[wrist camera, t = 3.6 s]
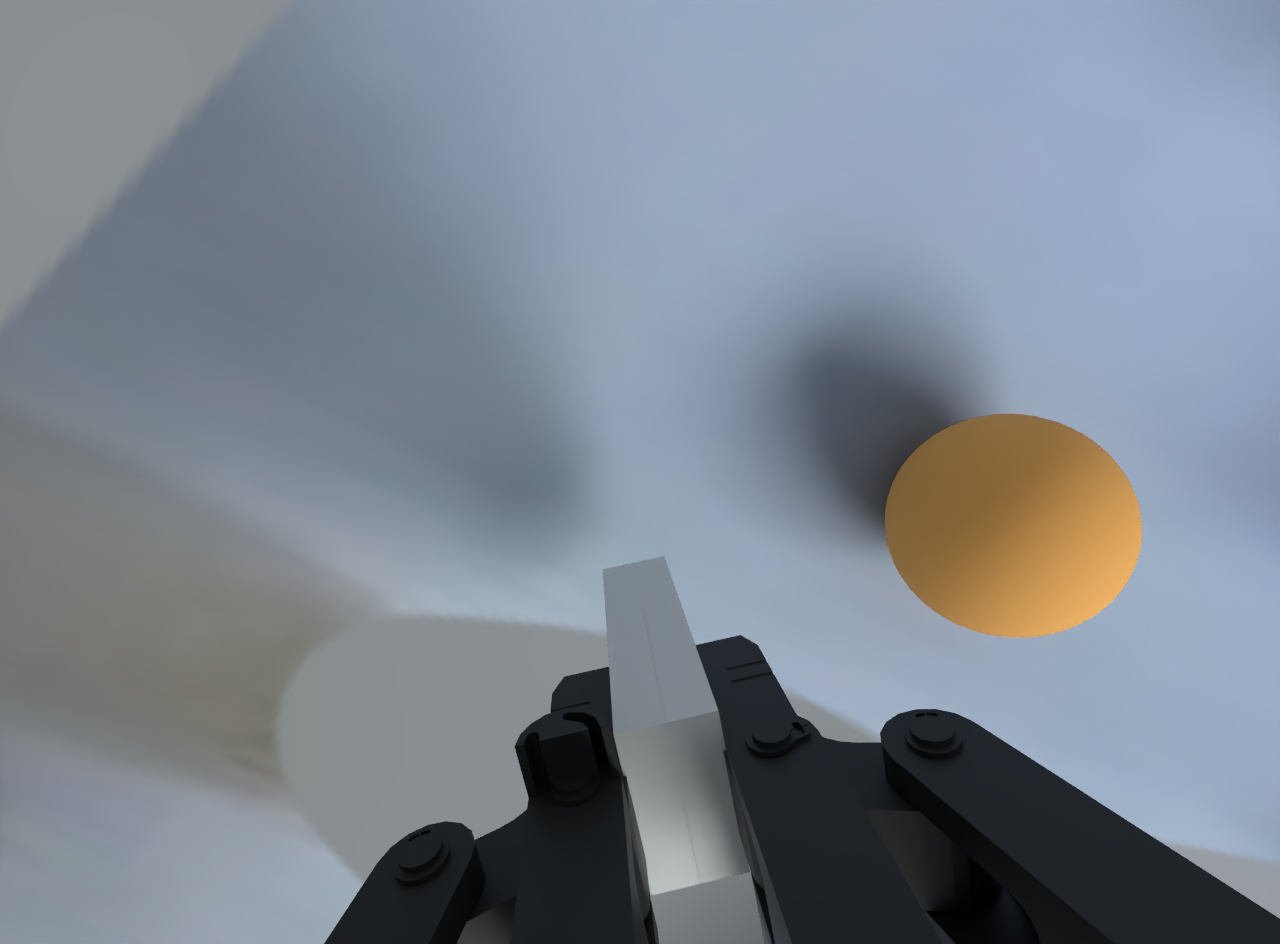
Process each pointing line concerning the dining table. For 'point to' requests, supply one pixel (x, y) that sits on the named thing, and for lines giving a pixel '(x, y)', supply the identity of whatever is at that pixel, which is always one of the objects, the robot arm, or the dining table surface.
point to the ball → (1013, 525)
